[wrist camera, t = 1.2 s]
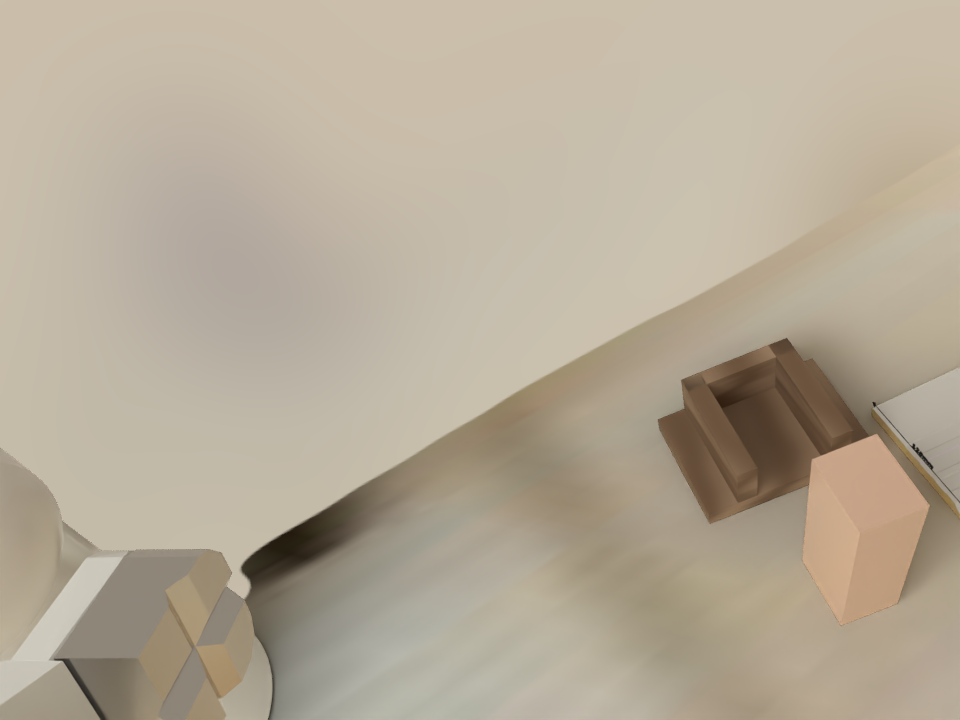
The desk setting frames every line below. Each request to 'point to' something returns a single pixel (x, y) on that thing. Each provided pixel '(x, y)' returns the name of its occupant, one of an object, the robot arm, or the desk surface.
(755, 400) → the slotted wooden stand
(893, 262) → the desk surface
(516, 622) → the desk surface
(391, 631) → the desk surface
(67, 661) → the robot arm
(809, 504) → the clay strip
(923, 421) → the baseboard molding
